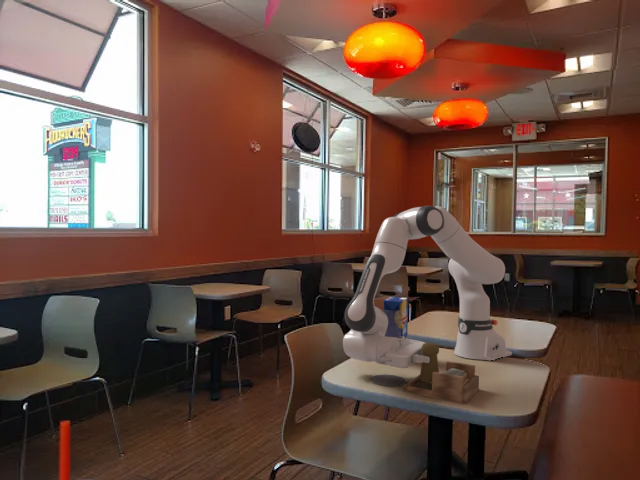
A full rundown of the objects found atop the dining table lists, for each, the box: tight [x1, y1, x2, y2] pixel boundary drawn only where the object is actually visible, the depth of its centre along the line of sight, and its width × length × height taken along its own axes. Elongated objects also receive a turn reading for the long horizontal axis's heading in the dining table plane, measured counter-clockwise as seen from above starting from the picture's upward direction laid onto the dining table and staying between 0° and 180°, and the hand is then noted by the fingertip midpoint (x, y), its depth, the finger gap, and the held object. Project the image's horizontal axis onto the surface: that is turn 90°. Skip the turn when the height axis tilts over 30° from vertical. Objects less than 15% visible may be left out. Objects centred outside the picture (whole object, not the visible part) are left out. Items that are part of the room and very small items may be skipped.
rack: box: [403, 360, 480, 405], centre depth 145 cm, size 18×15×7 cm
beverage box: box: [383, 296, 409, 339], centre depth 181 cm, size 7×11×22 cm, turn 159°
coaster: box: [370, 373, 406, 387], centre depth 154 cm, size 11×11×1 cm
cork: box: [419, 342, 440, 384], centre depth 147 cm, size 6×6×11 cm
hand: (432, 357), depth 147 cm, fingers closed on cork, 4 cm apart
